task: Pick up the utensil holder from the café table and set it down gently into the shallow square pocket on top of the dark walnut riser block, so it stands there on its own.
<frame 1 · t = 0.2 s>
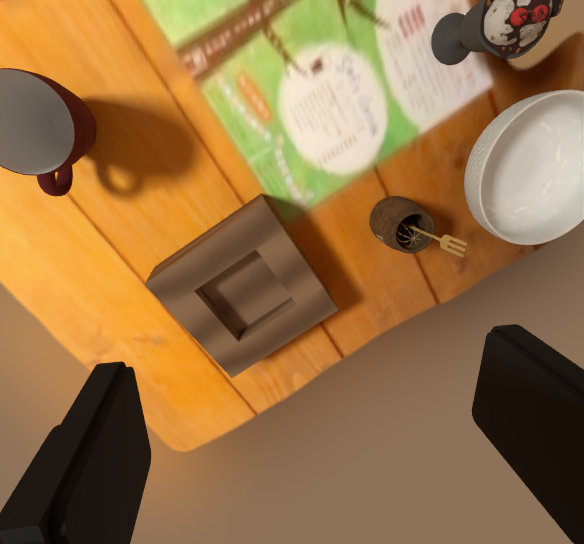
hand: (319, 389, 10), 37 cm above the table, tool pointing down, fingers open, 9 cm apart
utensil holder: (390, 217, 48), on the table
sundae: (451, 40, 41), on the table
mug: (75, 137, 39), on the table
walnut riser: (245, 279, 48), on the table
cereal bowl: (506, 166, 47), on the table
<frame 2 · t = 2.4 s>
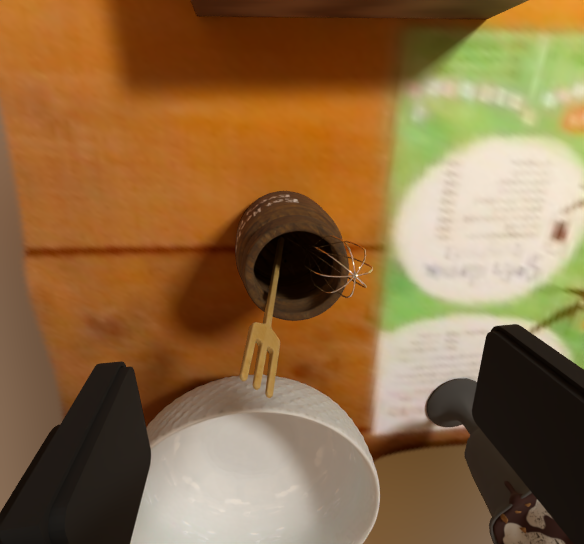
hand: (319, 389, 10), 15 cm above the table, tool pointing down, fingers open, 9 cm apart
utensil holder: (281, 235, 24), on the table
sundae: (453, 400, 31), on the table
cereal bowl: (250, 431, 30), on the table
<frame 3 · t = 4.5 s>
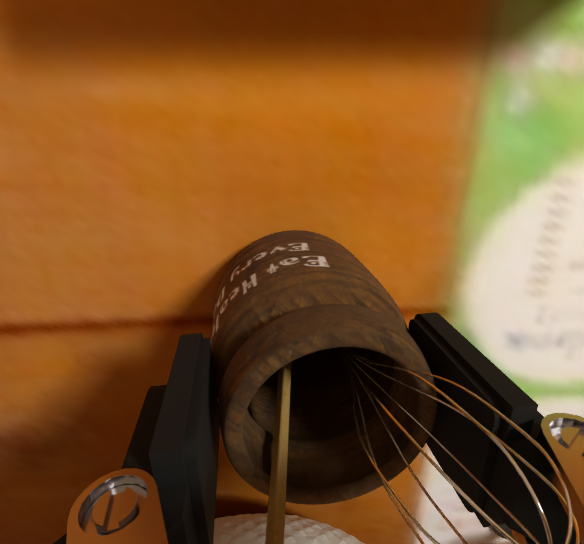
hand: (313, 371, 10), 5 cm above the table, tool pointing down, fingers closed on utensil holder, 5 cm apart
utensil holder: (288, 297, 15), on the table, touching gripper
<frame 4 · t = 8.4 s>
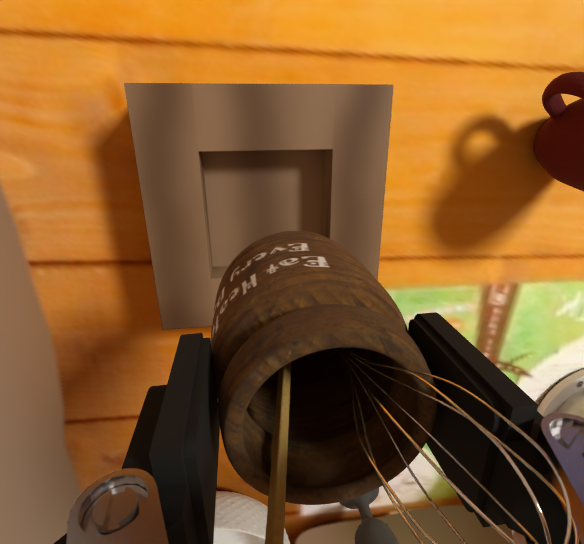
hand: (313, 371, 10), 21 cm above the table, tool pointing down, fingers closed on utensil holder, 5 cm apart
utensil holder: (288, 297, 15), point 17 cm above the table, touching gripper
sundae: (357, 491, 44), on the table
mug: (543, 132, 31), on the table
walnut riser: (263, 201, 30), on the table
cereal bowl: (214, 516, 42), on the table
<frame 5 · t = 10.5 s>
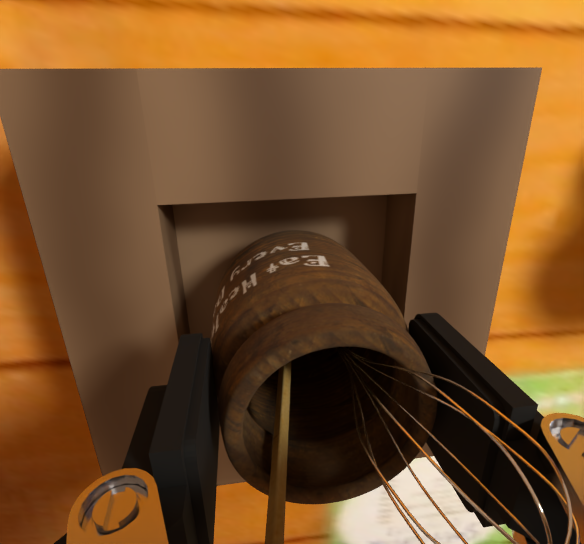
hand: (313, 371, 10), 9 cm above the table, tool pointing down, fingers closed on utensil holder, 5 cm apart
utensil holder: (288, 297, 15), point 4 cm above the table, touching gripper
walnut riser: (278, 264, 19), on the table
when the fingers open (8 cm above the table, at t = 12.2 s): utensil holder stays where it is, resting on walnut riser.
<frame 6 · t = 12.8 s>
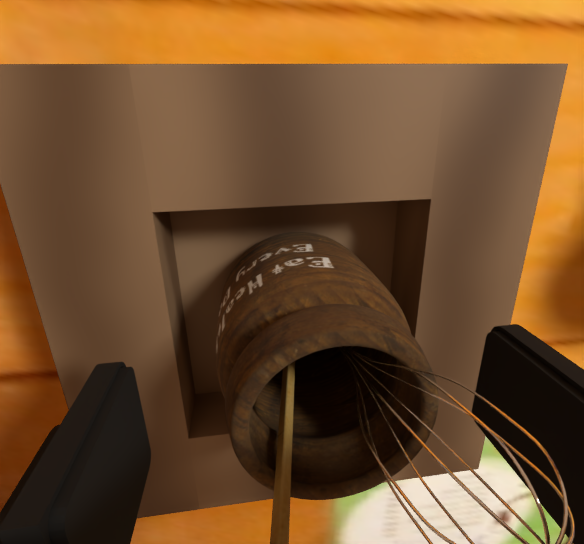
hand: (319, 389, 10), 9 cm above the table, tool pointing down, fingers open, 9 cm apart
utensil holder: (291, 297, 15), point 3 cm above the table, touching walnut riser
walnut riser: (281, 271, 18), on the table
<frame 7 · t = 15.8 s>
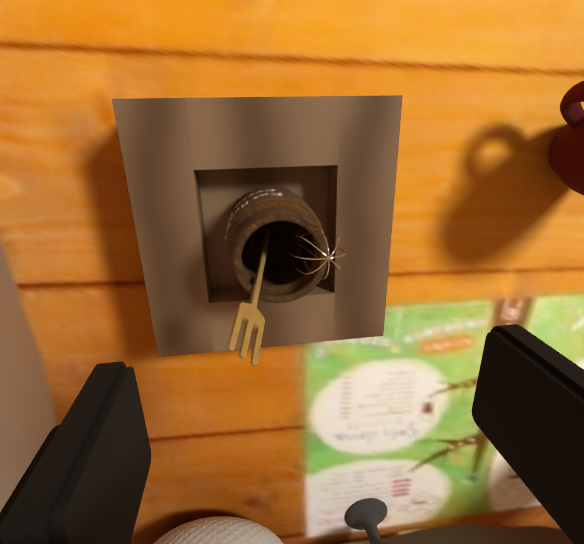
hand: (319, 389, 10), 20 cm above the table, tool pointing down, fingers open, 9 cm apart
utensil holder: (268, 227, 26), point 3 cm above the table, touching walnut riser
sundae: (365, 511, 43), on the table
mug: (559, 140, 30), on the table
walnut riser: (264, 217, 28), on the table
cereal bowl: (216, 540, 41), on the table
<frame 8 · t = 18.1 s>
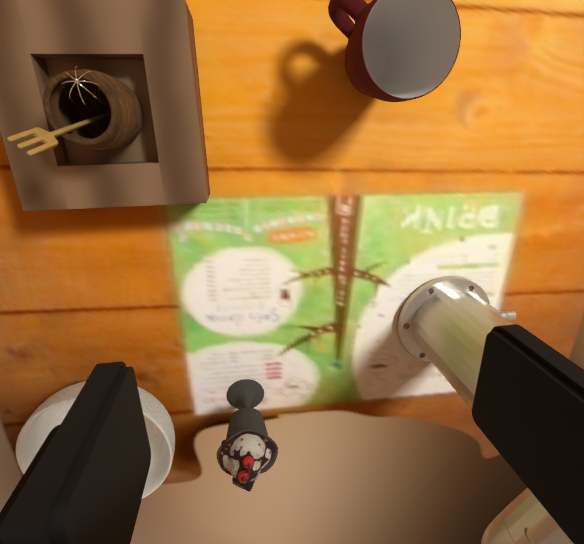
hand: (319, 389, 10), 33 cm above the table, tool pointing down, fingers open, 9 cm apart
utensil holder: (110, 114, 33), point 3 cm above the table, touching walnut riser
sundae: (245, 393, 50), on the table
mug: (358, 56, 37), on the table
walnut riser: (118, 114, 36), on the table
cereal bowl: (115, 413, 48), on the table
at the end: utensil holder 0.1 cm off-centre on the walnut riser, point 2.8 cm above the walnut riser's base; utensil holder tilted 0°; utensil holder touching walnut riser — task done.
